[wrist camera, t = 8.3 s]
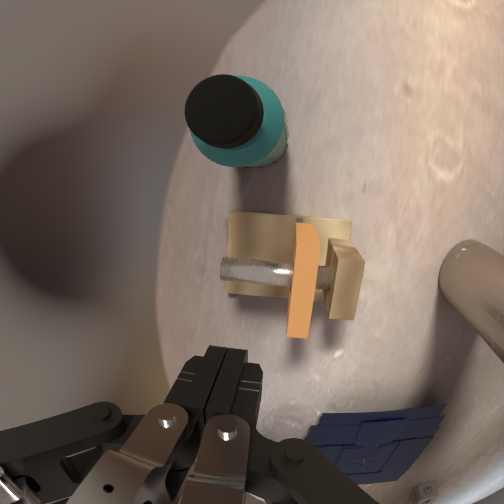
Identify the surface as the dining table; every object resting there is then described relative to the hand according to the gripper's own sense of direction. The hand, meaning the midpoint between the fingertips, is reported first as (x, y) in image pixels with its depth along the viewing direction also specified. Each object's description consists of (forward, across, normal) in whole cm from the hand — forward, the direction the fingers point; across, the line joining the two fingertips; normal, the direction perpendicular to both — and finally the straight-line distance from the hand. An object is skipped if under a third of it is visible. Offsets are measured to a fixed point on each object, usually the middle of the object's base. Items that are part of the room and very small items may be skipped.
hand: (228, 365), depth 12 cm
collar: (+24, -3, +3) cm, 25 cm away
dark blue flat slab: (+26, -20, +39) cm, 51 cm away
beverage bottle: (+26, +2, -10) cm, 28 cm away
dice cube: (+27, -42, +61) cm, 79 cm away
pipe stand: (+26, -1, +3) cm, 26 cm away
